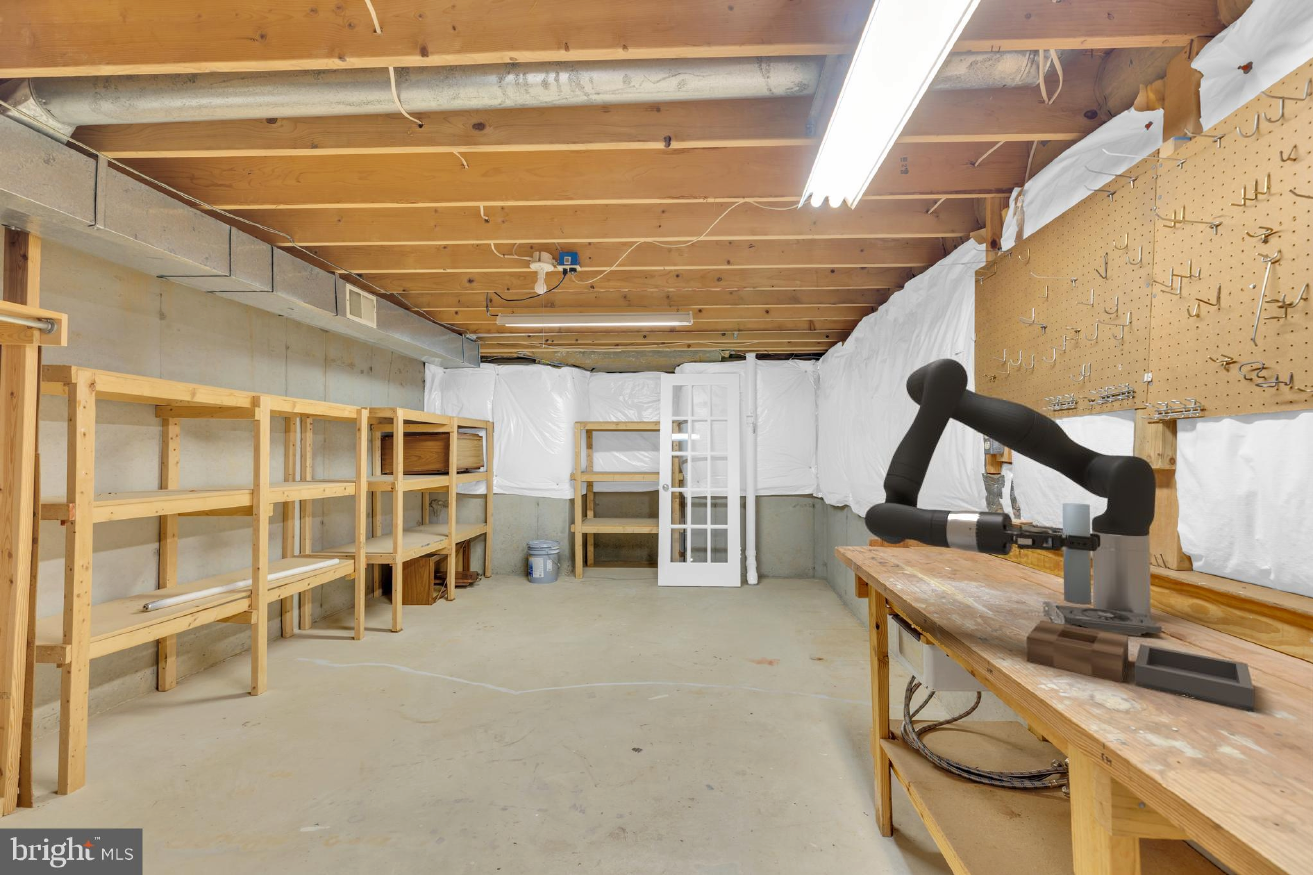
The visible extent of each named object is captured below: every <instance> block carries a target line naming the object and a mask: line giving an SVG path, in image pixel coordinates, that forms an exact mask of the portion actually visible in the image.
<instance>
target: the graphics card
mask: <svg viewBox="0 0 1313 875" xmlns="http://www.w3.org/2000/svg"><path fill="white" fill-rule="evenodd" d="M1042 602H1043V603H1042V604H1043V606H1042V607H1043V608H1042V612H1043V616H1047V617H1049V622H1053V623H1059V624H1065V625H1070V626H1076V627H1079V626H1081V627H1082V628H1087V629H1093V630H1099V631H1104V632H1110V633H1116V634H1121V635H1127V636H1136V637H1142V634H1144V635H1145V634H1146V633H1152V634H1162V633H1163V632H1162V631H1163V630H1162V629H1163V628H1162V625H1158V624H1157V623H1156V622H1155V620H1152V619H1151V620H1150V619H1148V618H1147V615H1146V614H1142V613H1132V612H1122V611H1113V610H1103V609H1093V607H1082V606H1081V607H1080V606H1072V605H1071V606H1070V605H1060V604H1055V605H1054V604H1053V602H1052V601H1047V600H1043V601H1042ZM1044 605H1045V606H1044ZM1046 608H1047V609H1046Z"/></svg>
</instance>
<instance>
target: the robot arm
mask: <svg viewBox="0 0 1313 875" xmlns="http://www.w3.org/2000/svg"><path fill="white" fill-rule="evenodd" d="M968 377H969V376H968V373H967V370H966V369H965V367H964V365H962V364H961V363H960V362H959V361H957V360H955V359H953V358H939V359H936V360H933V361H931V362H930V363H929V362H928V364H925V365H923V366H921V367H919V368H917V369H916V370H914V371H913V372H912V373H911V374H909V376H908V377H907V380H906V384H905V388H906V391H907V395H908V396H909V398H910V399H911V400H912V401H913V402H914V403H915V404H916V405H918V406H919V407H918V410H917V413H916V416H915V418H914V420H913V421H912V424H911V425H910V426H909V428H908V430H907V432H906V433H905V434H904V436H903V437H902V440H901V441H900V442H899V444H898V446H897V447H896V450H895V451H894V453H893V455H892V458H891V460H890V464H889V466H888V468H887V472H886V475H885V478H884V481H883V486H882V487H883V490H884V493H885V500H884V502H880V503H877V504H874V505H872V506H870V507H869V509H868V510H867V511H865V512H866V513H865V515H864V524H865V526H866V528H867V530H868V531H869V532H870V533H871V534H872V535H873V536H875V537H876V538H878V539H880V540H881V541H883V542H884V543H886V544H889V545H899V544H902V543H904V542H905V541H906V540H910V541H916V542H919V543H921V544H924V545H926V546H931V547H936V548H937V547H938V548H939V547H940V548H944V549H946V548H947V549H955V550H959V551H963V552H969V553H977V554H978V553H979V554H989V555H997V556H1008V555H1010V553H1011V552H1012V549H1013V545H1015V546H1017V549H1020V550H1039V551H1054V552H1059V551H1060V552H1061V551H1063V550H1067V547H1068V549H1075V550H1085V551H1091V552H1092V555H1091V556H1092V608H1093V609H1103V610H1113V611H1122V612H1132V613H1142V614H1146V615H1147V618H1148V619H1150V620H1152V615H1151V614H1152V612H1151V608H1152V607H1151V601H1152V600H1151V599H1152V598H1151V595H1152V594H1151V548H1150V547H1151V546H1150V544H1151V543H1150V540H1151V538H1150V529H1151V525H1152V524H1153V523H1154V519H1155V511H1156V510H1155V508H1156V494H1157V492H1156V491H1157V490H1156V489H1157V485H1156V484H1157V482H1156V481H1157V480H1156V475H1155V472H1154V469H1153V467H1152V465H1151V464H1150V462H1149V461H1147V460H1146V459H1144V458H1142V457H1140V456H1135V455H1119V454H1118V455H1111V454H1104V453H1100V452H1097V451H1095V450H1093V449H1090V448H1089V447H1086V446H1084V445H1081V444H1079V443H1077V442H1075V440H1073V439H1071V437H1070V436H1069V435H1068V434H1067V433H1066V432H1065V431H1064V429H1063V428H1062V427H1061V426H1060V425H1059V424H1058V423H1057V422H1056V421H1055V420H1053V419H1051V417H1049V416H1047V415H1044V414H1043V413H1040V412H1039V411H1037V410H1035V409H1033V408H1031V407H1029V406H1026V405H1024V404H1021V403H1018V402H1014V401H1011V400H1006V399H1001V398H997V397H992V396H987V395H983V394H980V393H977V392H974V391H972V390H970V389H968V388H967V387H968V382H969V380H968ZM950 419H951V420H953V421H954V420H955V421H957V422H959V423H960V424H963V425H965V426H966V427H968V428H971V429H973V430H974V431H976V432H978V433H979V434H981V435H984V436H985V437H987V438H988V439H992V440H993V441H995V442H996V443H999V444H1000V445H1002V446H1004V447H1005V448H1007V449H1008V450H1009V449H1010V450H1012V451H1013V452H1015V453H1017V454H1019V455H1022V456H1024V457H1026V458H1028V459H1030V460H1031V461H1034V462H1036V463H1038V464H1040V465H1043V466H1045V467H1047V468H1050V469H1052V470H1054V471H1056V472H1057V473H1059V474H1061V475H1063V476H1064V477H1066V478H1067V479H1069V480H1071V481H1072V482H1073V483H1075V484H1076V485H1077V486H1079V487H1081V488H1082V489H1084V490H1085V491H1087V492H1088V493H1091V494H1092V495H1094V496H1096V497H1099V498H1103V499H1107V501H1106V509H1105V510H1104V511H1103V513H1101V514H1099V515H1096V516H1094V517H1093V518H1092V520H1091V532H1090V537H1089V536H1077V535H1068V537H1067V534H1065V533H1063V527H1054V526H1051V525H1050V526H1049V525H1038V524H1033V523H1022V524H1020V525H1019V526H1014V525H1013V520H1012V517H1011V515H1010V514H1009V513H1007V512H1000V511H999V512H994V511H984V510H983V511H979V510H966V509H965V510H949V509H948V510H946V509H929V508H928V509H926V508H922V507H921V508H920V507H918V501H919V500H918V498H919V494H920V492H921V489H922V486H923V484H924V480H925V478H926V475H927V472H928V469H929V467H930V465H931V464H930V463H931V461H932V457H933V456H934V453H935V451H936V448H937V447H938V446H937V445H939V444H938V443H939V442H940V439H941V438H942V435H943V433H944V431H945V429H946V427H947V425H948V423H949V421H950Z"/></svg>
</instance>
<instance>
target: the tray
mask: <svg viewBox="0 0 1313 875" xmlns="http://www.w3.org/2000/svg"><path fill="white" fill-rule="evenodd" d="M1134 677H1135V678H1134V685H1135V686H1137V687H1140V686H1142V687H1141V688H1146V689H1149V688H1151V689H1150V690H1154V689H1155V691H1158V690H1160V691H1159V692H1163V693H1167V692H1169V694H1172V695H1176V694H1178V695H1177V696H1181V695H1185V696H1188V697H1187V698H1190V697H1194V698H1196V699H1195V700H1198V699H1200V701H1204V702H1208V703H1213V704H1217V705H1221V706H1226V707H1231V708H1235V709H1240V710H1244V711H1248V712H1254V713H1255V696H1254V695H1255V694H1254V693H1255V692H1254V685H1253V682H1252V677H1251V673H1250V670H1249V665H1248V663H1246V662H1240V661H1235V660H1229V659H1225V658H1219V657H1218V658H1217V657H1214V656H1213V657H1212V656H1208V655H1207V656H1206V655H1202V654H1196V653H1191V652H1186V651H1181V650H1175V649H1169V648H1163V647H1158V646H1154V645H1148V644H1142V643H1140V644H1139V648H1138V651H1137V656H1136V659H1135V663H1134ZM1185 696H1184V697H1185ZM1194 698H1193V699H1194Z"/></svg>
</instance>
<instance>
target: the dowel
mask: <svg viewBox="0 0 1313 875" xmlns="http://www.w3.org/2000/svg"><path fill="white" fill-rule="evenodd" d="M1090 505H1091V504H1087V503H1079V502H1078V503H1075V502H1069V503H1067V502H1064V503H1062V528H1063V533H1065V534H1067V537H1068V535H1077V536H1089V537H1090V533H1091V506H1090ZM1062 551H1063V554H1062V555H1063V601H1065V602H1066V603H1069V604H1075V605H1082V606H1086V605H1091V604H1092V563H1091V562H1092V560H1091V556H1092V555H1091V552H1092V551H1085V550H1075V549H1068V547H1067V550H1062Z"/></svg>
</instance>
